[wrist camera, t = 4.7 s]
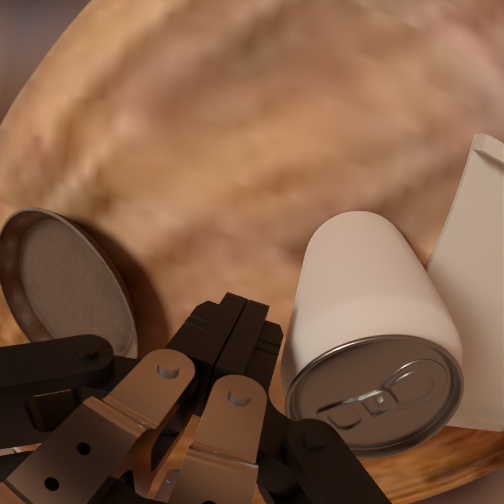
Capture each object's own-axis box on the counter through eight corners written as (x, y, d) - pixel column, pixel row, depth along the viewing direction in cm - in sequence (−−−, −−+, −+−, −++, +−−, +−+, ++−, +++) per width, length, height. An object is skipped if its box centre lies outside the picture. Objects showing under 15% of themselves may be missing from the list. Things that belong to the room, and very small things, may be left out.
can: (424, 273, 18) (493, 416, 8) (340, 323, 21) (334, 481, 10) (372, 187, 17) (435, 274, 7) (283, 247, 20) (226, 384, 9)
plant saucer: (185, 370, 26) (171, 394, 24) (63, 367, 32) (48, 382, 29) (104, 168, 21) (76, 175, 19) (-2, 227, 27) (-22, 236, 24)
